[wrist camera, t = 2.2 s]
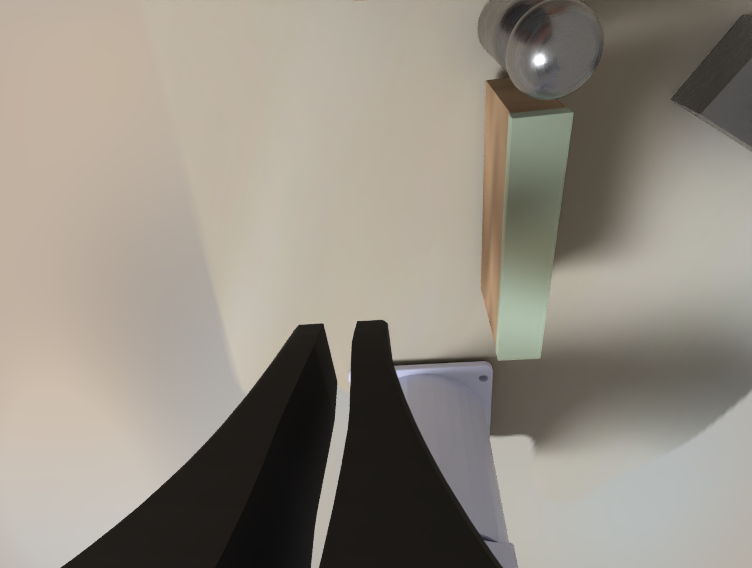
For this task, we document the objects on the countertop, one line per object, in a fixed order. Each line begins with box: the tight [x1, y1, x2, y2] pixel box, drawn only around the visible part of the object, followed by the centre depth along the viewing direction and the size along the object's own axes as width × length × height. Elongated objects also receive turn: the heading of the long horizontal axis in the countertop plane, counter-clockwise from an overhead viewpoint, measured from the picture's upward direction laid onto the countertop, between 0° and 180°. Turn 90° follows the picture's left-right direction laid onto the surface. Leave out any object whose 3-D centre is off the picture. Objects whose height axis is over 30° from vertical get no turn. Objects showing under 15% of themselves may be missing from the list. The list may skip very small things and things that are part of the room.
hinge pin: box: [478, 0, 603, 100], centre depth 13 cm, size 2×2×7 cm
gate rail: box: [481, 78, 574, 361], centre depth 17 cm, size 10×2×5 cm, turn 7°
